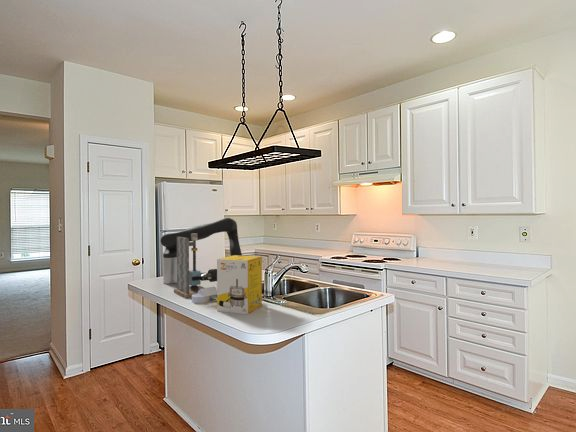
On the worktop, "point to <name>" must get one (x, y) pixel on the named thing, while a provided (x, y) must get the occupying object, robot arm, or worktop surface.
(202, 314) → the worktop surface
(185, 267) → the grey rod stand
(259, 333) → the worktop surface
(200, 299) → the wedge on round base
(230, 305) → the packaging box
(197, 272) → the sleeve
